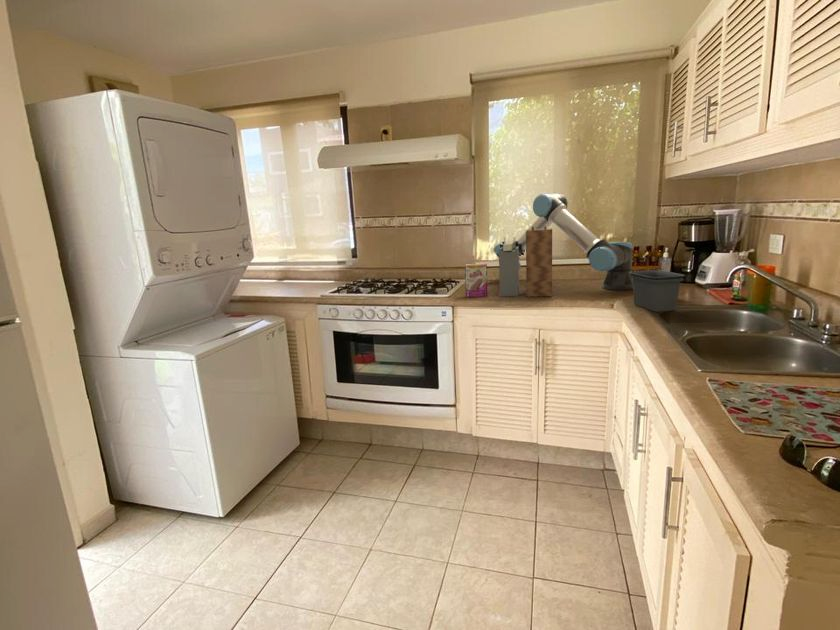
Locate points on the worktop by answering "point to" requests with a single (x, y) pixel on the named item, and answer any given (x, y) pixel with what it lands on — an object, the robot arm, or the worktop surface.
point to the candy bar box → (476, 280)
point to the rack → (509, 272)
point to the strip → (508, 246)
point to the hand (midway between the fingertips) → (509, 239)
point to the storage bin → (656, 289)
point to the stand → (539, 262)
